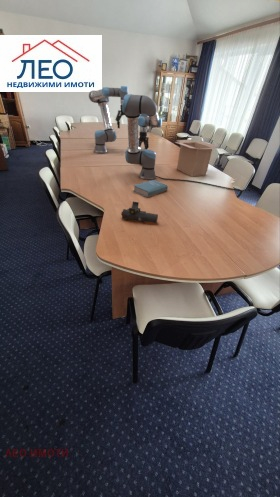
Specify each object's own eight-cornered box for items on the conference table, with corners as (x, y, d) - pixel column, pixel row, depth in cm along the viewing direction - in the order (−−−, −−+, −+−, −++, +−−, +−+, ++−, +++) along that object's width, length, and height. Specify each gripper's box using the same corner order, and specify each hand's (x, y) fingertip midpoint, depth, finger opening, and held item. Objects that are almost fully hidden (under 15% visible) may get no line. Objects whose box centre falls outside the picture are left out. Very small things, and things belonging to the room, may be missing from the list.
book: (152, 185, 190) (153, 179, 187) (167, 191, 181) (167, 185, 178) (133, 191, 176) (133, 185, 173) (147, 198, 167) (148, 191, 164)
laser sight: (155, 227, 133) (157, 212, 127) (119, 221, 136) (119, 206, 130) (157, 219, 141) (159, 205, 135) (123, 214, 144) (124, 200, 138)
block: (141, 158, 236) (142, 148, 230) (147, 160, 231) (147, 149, 225) (136, 159, 231) (136, 148, 225) (141, 161, 227) (142, 150, 220)
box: (218, 176, 220) (226, 147, 203) (190, 180, 205) (196, 149, 189) (191, 164, 250) (196, 138, 234) (165, 167, 235) (168, 139, 219)
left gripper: (131, 104, 236) (130, 126, 249) (111, 104, 222) (112, 127, 235) (135, 105, 232) (134, 127, 244) (116, 104, 218) (116, 129, 231)
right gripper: (148, 130, 223) (146, 153, 237) (132, 131, 211) (131, 156, 225) (153, 131, 219) (151, 155, 232) (137, 132, 207) (136, 157, 221)
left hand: (123, 128), depth 240 cm, fingers open, 13 cm apart
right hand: (141, 155), depth 229 cm, fingers closed on block, 8 cm apart
